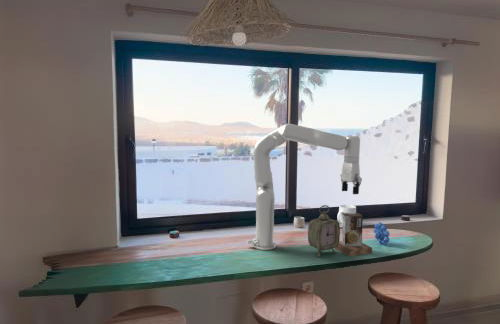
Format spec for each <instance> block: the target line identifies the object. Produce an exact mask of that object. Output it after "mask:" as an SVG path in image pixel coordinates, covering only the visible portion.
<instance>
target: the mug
mask: <svg viewBox="0 0 500 324" xmlns="http://www.w3.org/2000/svg"><path fill="white" fill-rule="evenodd" d="M338 207H339V208H338V213H337V217H336V218H337V220H336V221H338V222H339V224H340V225H341V227H343V213H357V206H356V205H351V204H340V205H338Z"/></svg>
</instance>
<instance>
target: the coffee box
mask: <svg viewBox="0 0 500 324" xmlns="http://www.w3.org/2000/svg"><path fill="white" fill-rule="evenodd" d="M363 221H364V218H363V215H362V214H361V213H359V212H356V213H343V226H342V231H341V232H342V235H341V237H342V238H341V241H342V243H343V244H344V246H362V243H363Z"/></svg>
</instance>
